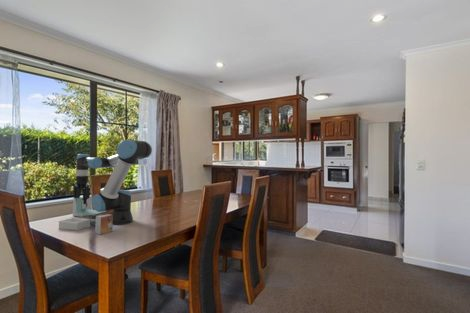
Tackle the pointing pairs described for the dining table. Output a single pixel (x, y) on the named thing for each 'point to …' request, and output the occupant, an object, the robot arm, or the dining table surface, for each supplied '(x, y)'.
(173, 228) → the dining table surface
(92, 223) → the mat
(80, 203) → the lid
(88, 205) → the supplement box
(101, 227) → the small box
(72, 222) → the tub
